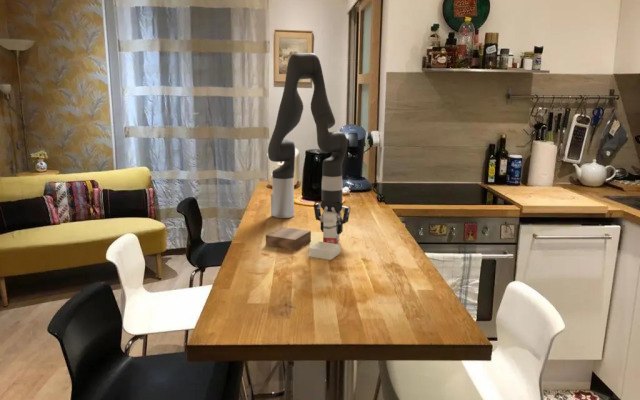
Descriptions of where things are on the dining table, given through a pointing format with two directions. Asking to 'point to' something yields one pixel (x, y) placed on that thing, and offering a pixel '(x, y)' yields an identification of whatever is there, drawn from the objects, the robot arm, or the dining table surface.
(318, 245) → the white square block
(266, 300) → the dining table surface
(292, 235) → the walnut slab
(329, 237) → the ink box
